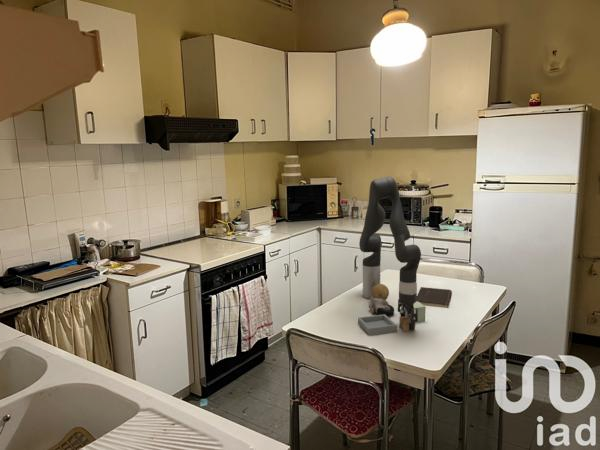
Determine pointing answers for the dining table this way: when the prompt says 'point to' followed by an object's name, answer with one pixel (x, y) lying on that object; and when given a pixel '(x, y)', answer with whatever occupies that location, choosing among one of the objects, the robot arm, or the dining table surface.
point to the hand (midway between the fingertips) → (407, 326)
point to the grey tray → (377, 324)
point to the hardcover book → (434, 297)
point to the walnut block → (404, 324)
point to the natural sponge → (380, 291)
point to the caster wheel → (380, 307)
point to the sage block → (420, 311)
